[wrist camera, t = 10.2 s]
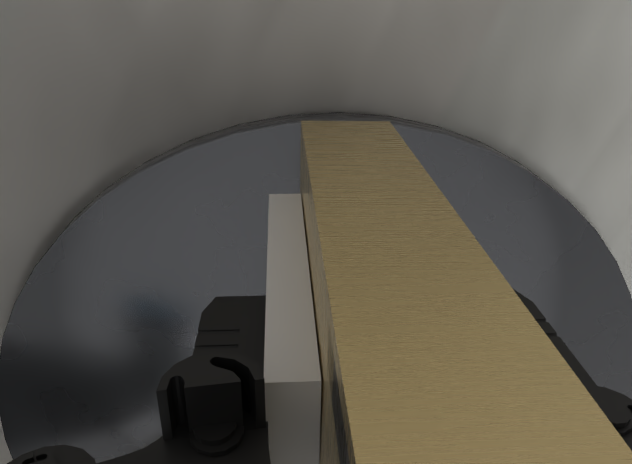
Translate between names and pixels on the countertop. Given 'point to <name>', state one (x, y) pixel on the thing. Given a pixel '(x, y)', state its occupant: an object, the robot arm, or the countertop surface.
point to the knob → (425, 323)
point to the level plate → (259, 275)
